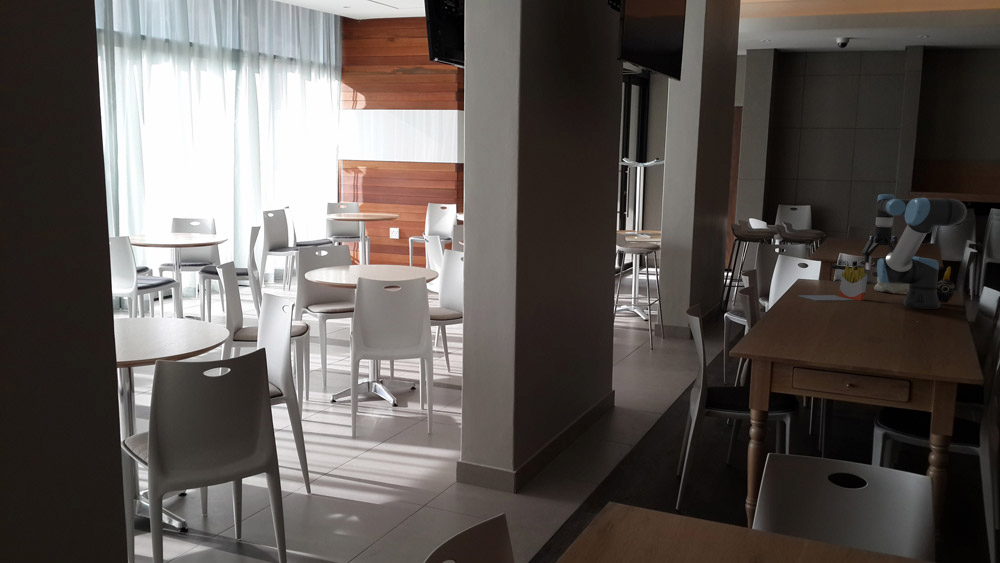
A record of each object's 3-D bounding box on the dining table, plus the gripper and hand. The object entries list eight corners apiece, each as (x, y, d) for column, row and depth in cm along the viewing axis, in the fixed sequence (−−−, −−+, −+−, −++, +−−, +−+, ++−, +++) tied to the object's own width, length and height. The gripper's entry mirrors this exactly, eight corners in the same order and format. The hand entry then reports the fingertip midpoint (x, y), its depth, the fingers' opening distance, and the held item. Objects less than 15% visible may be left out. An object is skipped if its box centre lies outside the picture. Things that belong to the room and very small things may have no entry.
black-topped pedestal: (809, 282, 470) (811, 259, 468) (834, 279, 486) (836, 257, 485) (856, 288, 448) (858, 263, 447) (881, 285, 465) (883, 261, 463)
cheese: (865, 282, 431) (890, 266, 423) (868, 280, 437) (894, 264, 429) (883, 307, 428) (910, 291, 419) (887, 305, 434) (913, 289, 425)
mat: (853, 300, 399) (853, 299, 399) (816, 301, 395) (816, 300, 395) (834, 295, 414) (834, 295, 414) (798, 296, 411) (798, 295, 411)
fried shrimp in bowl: (948, 301, 404) (952, 264, 402) (959, 304, 393) (962, 266, 391) (929, 300, 405) (932, 263, 402) (938, 304, 394) (942, 266, 391)
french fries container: (859, 306, 401) (864, 269, 398) (837, 302, 409) (842, 265, 406) (863, 305, 404) (868, 268, 401) (841, 301, 412) (846, 265, 409)
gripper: (901, 225, 413) (898, 268, 415) (856, 225, 408) (852, 268, 411) (911, 226, 405) (908, 270, 408) (865, 226, 401) (862, 270, 403)
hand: (880, 269), depth 409 cm, fingers open, 13 cm apart
